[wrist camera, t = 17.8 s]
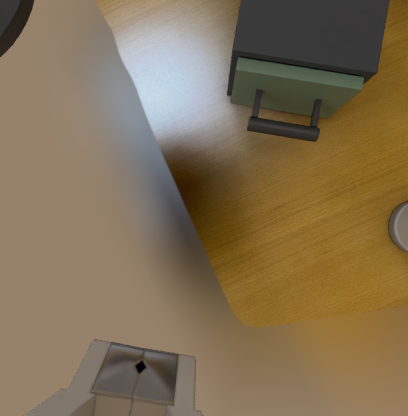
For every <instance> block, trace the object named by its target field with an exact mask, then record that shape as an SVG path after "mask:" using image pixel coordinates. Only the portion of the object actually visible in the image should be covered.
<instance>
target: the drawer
mask: <svg viewBox="0 0 408 416" xmlns="http://www.w3.org/2000/svg"><path fill="white" fill-rule="evenodd" d="M363 82H364V77H360V76H354V75H348V74H347V73H344V72H337V71H331V70H325V69H318V68H312V67H306V66H300V65H293V64H287V63H281V62H275V61H268V60H262V59H256V58H250V57H245V58H241V57H238V61H237V66H236V72H235V78H234V84H233V90H232V97H231V103H235V104H241V105H247V106H253V111H252V117H250V118H249V122H248V127H247V131H252V132H258V133H264V134H270V135H276V136H282V137H288V138H294V139H300V140H306V141H312V142H316V141H317V139H318V137H319V132H320V129H319V128H316V127H317V124H318V119H319V117H320V118H326V119H327V118H328V117H330V116H331V115H332V114H333V113H335V112H336V111H337V110H338V109H339V108H341V107H342V106H343V105H344V104H346V103H347V102H348V101H349V100H350V99H352V98H353V97H354V96H355V95H357V94H358V93H359V92H360V91H361V90H362V88H363ZM259 108H266V109H272V110H278V111H284V112H290V113H296V114H302V115H308V116H311V122H310V126H304V125H298V124H292V123H286V122H280V121H274V120H268V119H262V118H258V114H259Z"/></svg>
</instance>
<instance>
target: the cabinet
mask: <svg viewBox="0 0 408 416" xmlns="http://www.w3.org/2000/svg"><path fill="white" fill-rule="evenodd" d="M388 6H389V0H241V4H240V10H239V16H238V21H237V27H236V33H235V38H234V44H233V49H232V57H231V66H230V74H229V82H228V90H227V95H230V96H232V90H233V84H234V78H235V72H236V66H237V61H238V57H241V58H245V57H250V58H256V59H262V60H268V61H275V62H281V63H287V64H293V65H300V66H306V67H312V68H318V69H325V70H331V71H337V72H344V73H347V74H348V75H354V76H360V77H364V82H363V84H364V83H365V82H367V81H368V80H369V79H370V78H371V77H373V76H374V75H375V74H376V73H377V70H378V64H379V58H380V52H381V46H382V40H383V35H384V29H385V23H386V17H387V11H388Z"/></svg>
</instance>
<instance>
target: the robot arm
mask: <svg viewBox="0 0 408 416" xmlns="http://www.w3.org/2000/svg"><path fill="white" fill-rule="evenodd" d="M195 380H196V358H195V356H189V355H183V354H176V353H170V352H164V351H158V350H152V349H146V348H145V349H144V348H139V347H134V346H129V345H124V344H119V343H114V342H107V341H102V340H98V339H94V340H93V342H92V343H91V344H90V346H89V348H88V350H87V353H86V355H85V357H84V358H83V360H82V362H81V364H80V366H79V368H78V370H77V372H76V375H75V376H74V378H73V380H72V382H71V384H70V386H69V388H68V389H63V388H62V389H61V390H59V391H58V392H57V393H55V394H54V395H52V396H51V397H49V398H48V399H47V400H45V401H44V402H42V403H41V404H40V405H38V406H37V407H35V408H34V409H32V410H31V411H30V412H28V413H27V414H25V415H24V416H203V415H202V413H201V411H199V410H195Z"/></svg>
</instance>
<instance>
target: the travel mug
mask: <svg viewBox="0 0 408 416" xmlns="http://www.w3.org/2000/svg"><path fill="white" fill-rule="evenodd" d="M389 232H390V236H391V238H392V240H393V241H394V243H395V244H396V245H397V246H398V247H399V248H400V249H402V250H404V251H406V252H408V201H407V202H405V203H403V204H401V205H400V206H398V207H397V208H396V209H395V210H394V212H393V213H392V215H391V218H390V221H389Z"/></svg>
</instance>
